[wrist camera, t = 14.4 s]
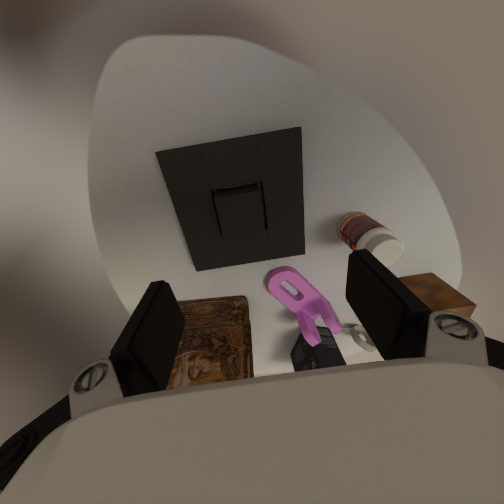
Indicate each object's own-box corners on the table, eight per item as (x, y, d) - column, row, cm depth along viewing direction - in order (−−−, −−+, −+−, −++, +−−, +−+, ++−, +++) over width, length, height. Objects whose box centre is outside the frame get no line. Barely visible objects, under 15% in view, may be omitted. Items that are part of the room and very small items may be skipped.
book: (162, 325, 39) (71, 561, 18) (153, 303, 37) (33, 551, 15) (250, 316, 40) (265, 539, 18) (247, 294, 37) (262, 525, 15)
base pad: (296, 127, 25) (301, 126, 23) (301, 247, 33) (305, 254, 31) (160, 151, 25) (154, 152, 23) (198, 264, 33) (196, 271, 32)
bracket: (329, 302, 39) (346, 333, 33) (305, 317, 41) (317, 350, 35) (286, 260, 34) (296, 288, 28) (260, 280, 36) (265, 310, 30)
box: (312, 355, 47) (329, 403, 39) (289, 353, 46) (300, 401, 38) (330, 327, 43) (352, 374, 34) (304, 323, 42) (321, 371, 33)
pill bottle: (330, 233, 32) (357, 263, 25) (351, 205, 30) (387, 229, 23) (354, 245, 33) (386, 277, 26) (375, 219, 31) (417, 246, 24)
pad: (257, 183, 28) (260, 190, 24) (262, 221, 30) (265, 233, 27) (216, 190, 28) (213, 198, 24) (225, 227, 30) (223, 239, 27)
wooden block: (432, 272, 37) (476, 304, 30) (420, 305, 41) (458, 341, 34) (386, 279, 37) (420, 313, 30) (379, 311, 41) (408, 348, 34)
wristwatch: (361, 334, 44) (375, 356, 40) (343, 328, 43) (355, 350, 39) (371, 326, 43) (386, 347, 39) (353, 319, 42) (366, 340, 37)
